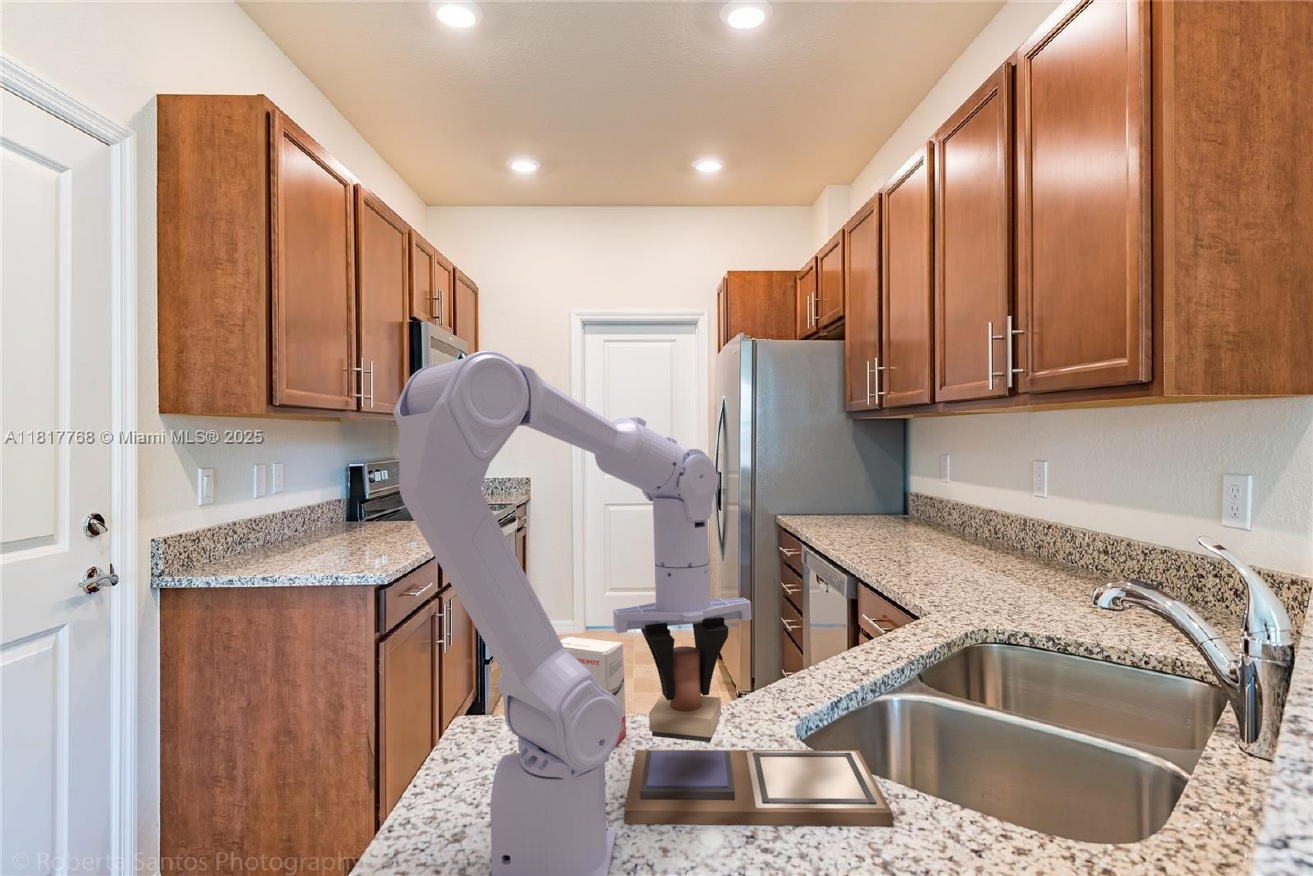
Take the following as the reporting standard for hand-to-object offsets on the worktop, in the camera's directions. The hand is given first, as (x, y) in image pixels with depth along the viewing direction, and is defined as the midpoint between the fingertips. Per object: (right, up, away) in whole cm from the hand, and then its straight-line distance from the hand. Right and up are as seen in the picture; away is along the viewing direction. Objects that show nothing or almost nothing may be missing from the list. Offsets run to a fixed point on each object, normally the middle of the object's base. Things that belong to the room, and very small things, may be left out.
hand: (685, 694), depth 64 cm
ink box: (-11, -11, +12) cm, 20 cm away
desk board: (+7, -10, -1) cm, 12 cm away
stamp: (0, -4, 0) cm, 4 cm away
